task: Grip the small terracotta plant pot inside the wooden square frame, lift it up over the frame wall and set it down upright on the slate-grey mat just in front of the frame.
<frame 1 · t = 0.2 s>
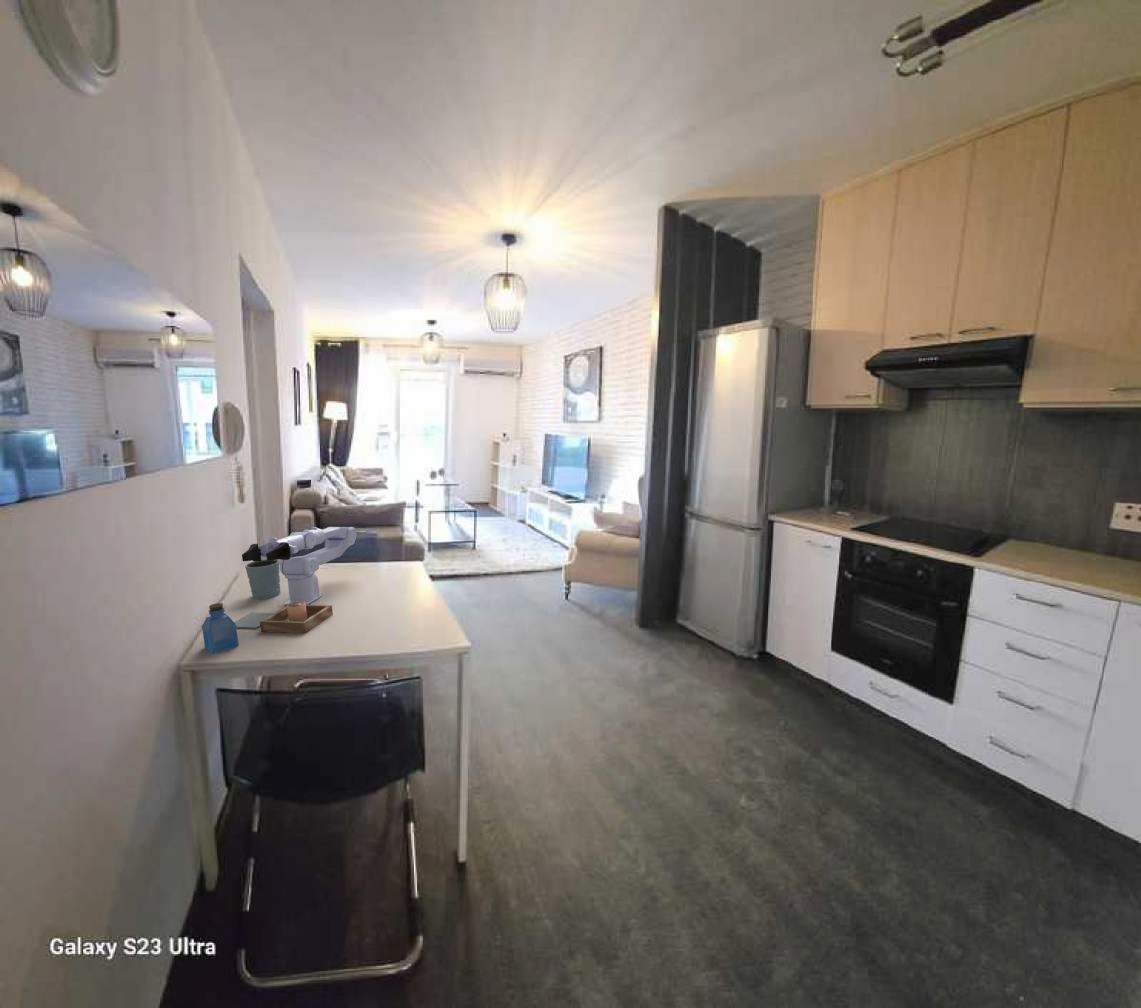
hand: (255, 557, 148), 21 cm above the table, tool horizontal, fingers open, 7 cm apart
slate mat: (254, 621, 154), on the table
wooden square frame: (298, 622, 153), on the table
terracotta pot: (297, 613, 152), in the wooden square frame
green pot: (266, 595, 177), on the table
perfume bottle: (222, 647, 137), on the table
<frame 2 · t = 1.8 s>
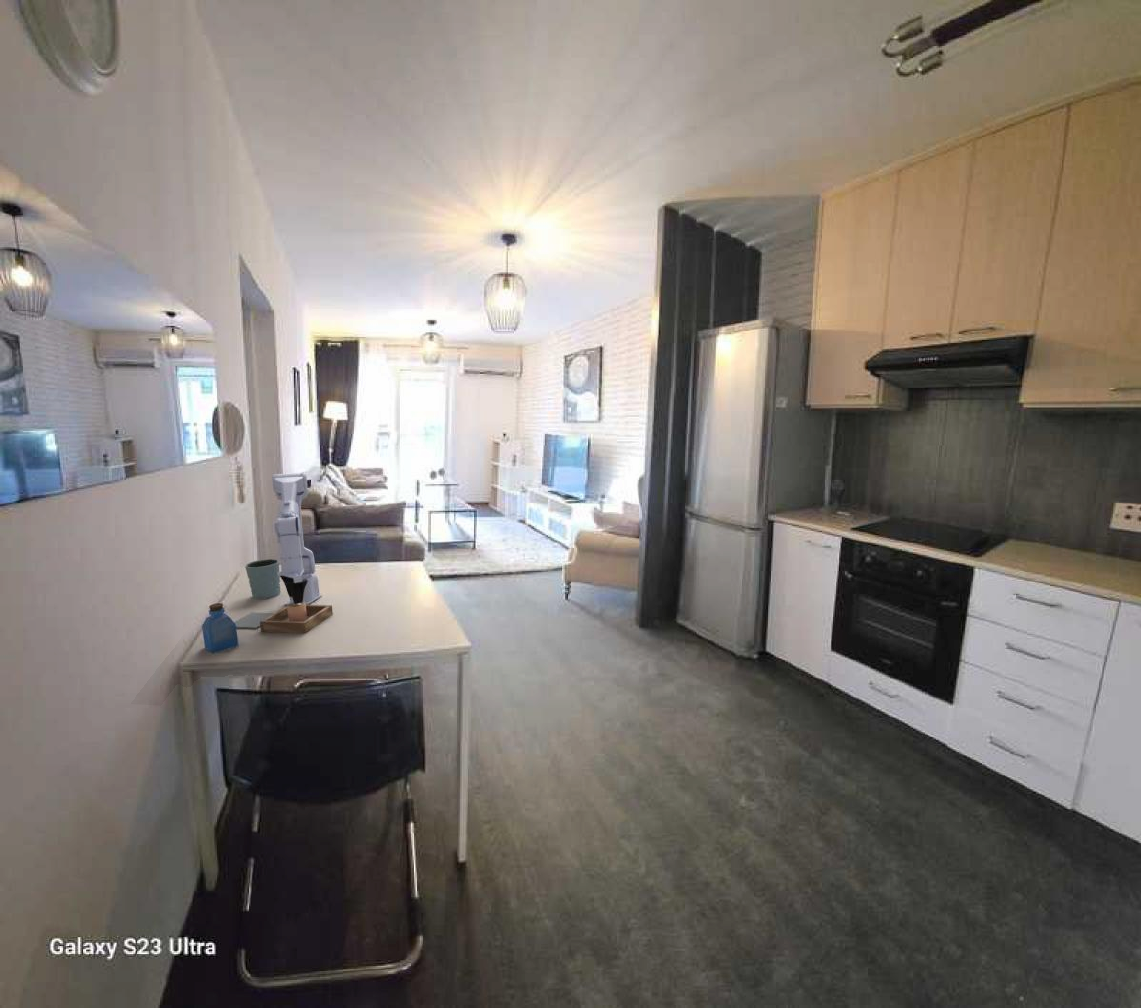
hand: (295, 599, 151), 7 cm above the table, tool pointing down, fingers open, 7 cm apart
nothing on the table moved.
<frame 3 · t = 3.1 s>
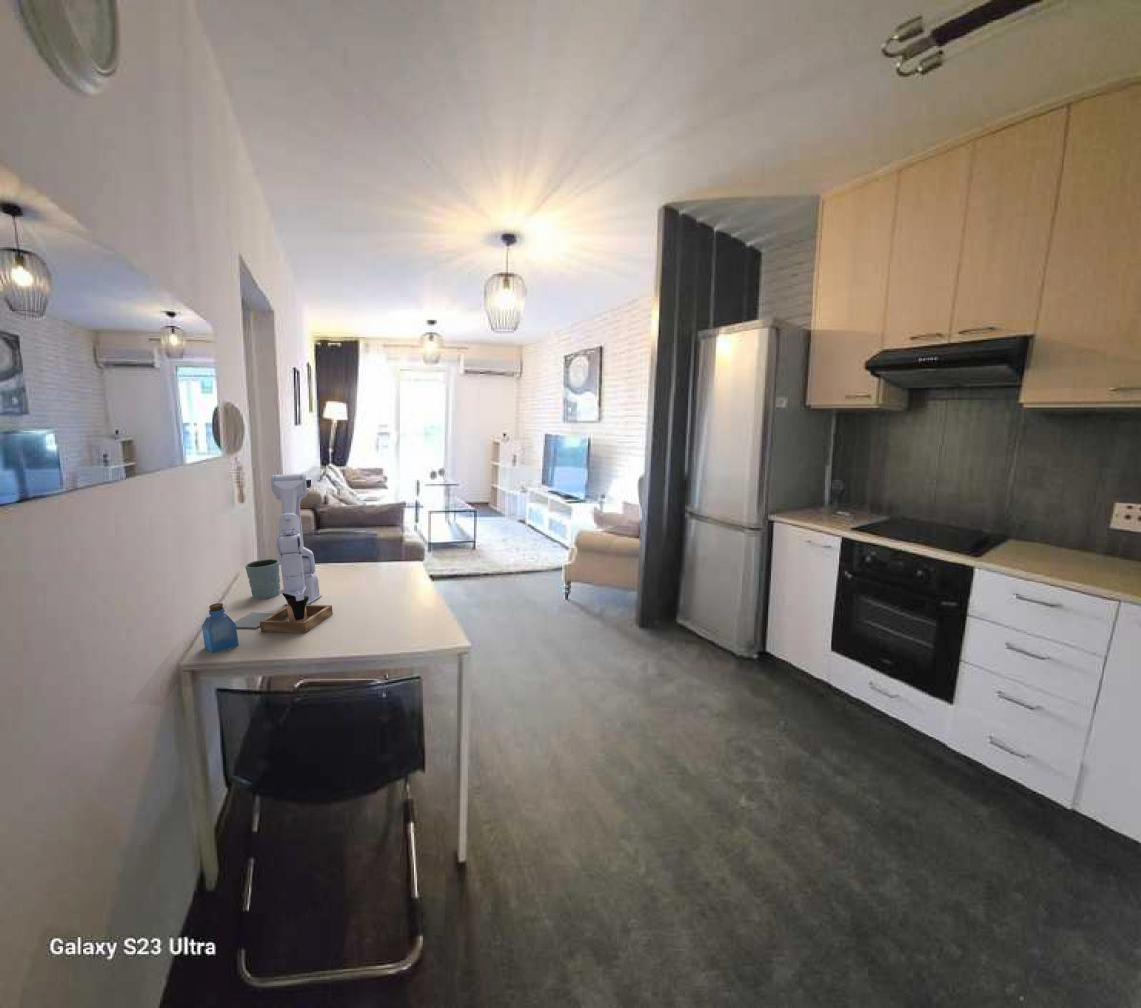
hand: (297, 616, 152), 2 cm above the table, tool pointing down, fingers closed on terracotta pot, 5 cm apart
terracotta pot: (297, 613, 152), in the wooden square frame, touching gripper
everything else where it was.
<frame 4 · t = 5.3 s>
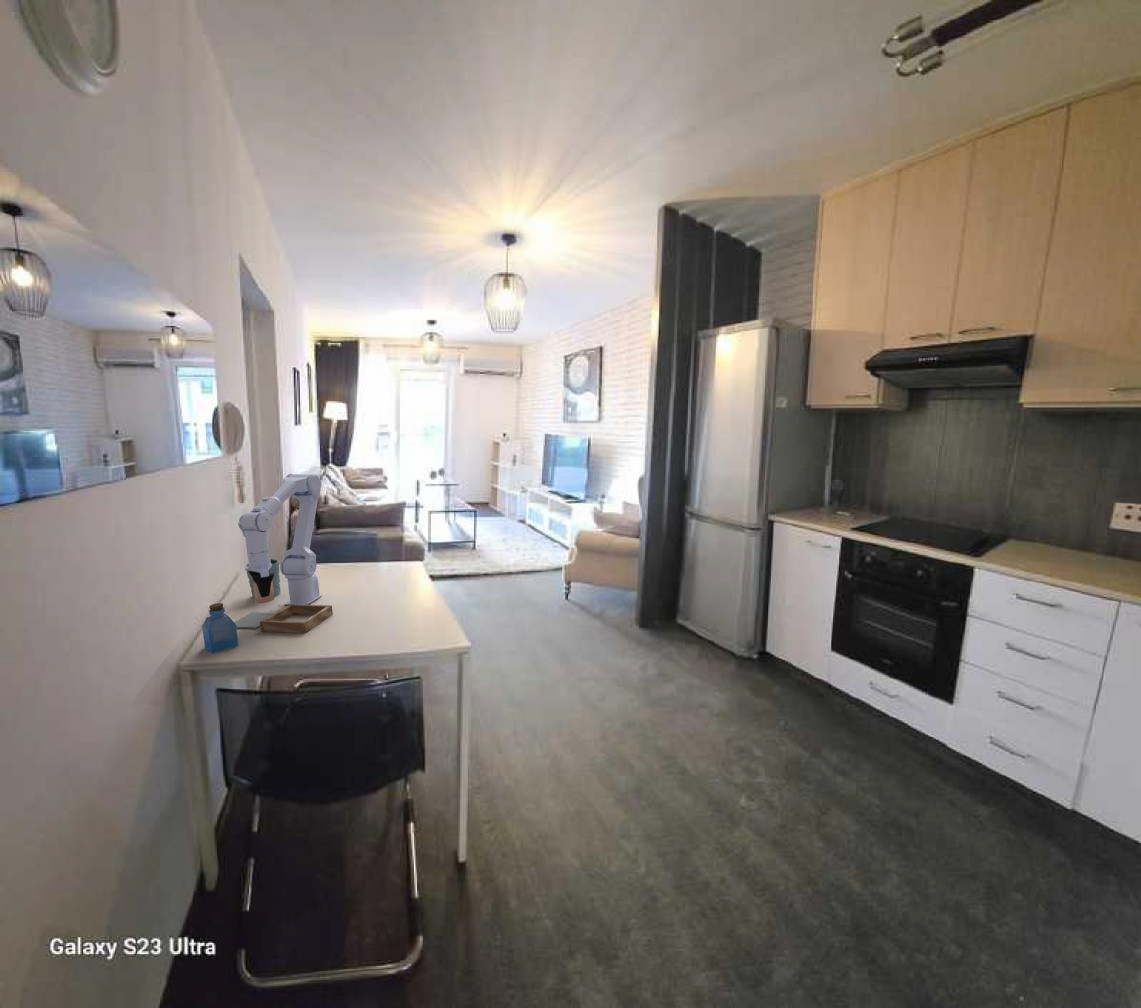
hand: (263, 594, 152), 9 cm above the table, tool pointing down, fingers closed on terracotta pot, 5 cm apart
terracotta pot: (263, 590, 152), point 10 cm above the table, touching gripper
everything else where it was.
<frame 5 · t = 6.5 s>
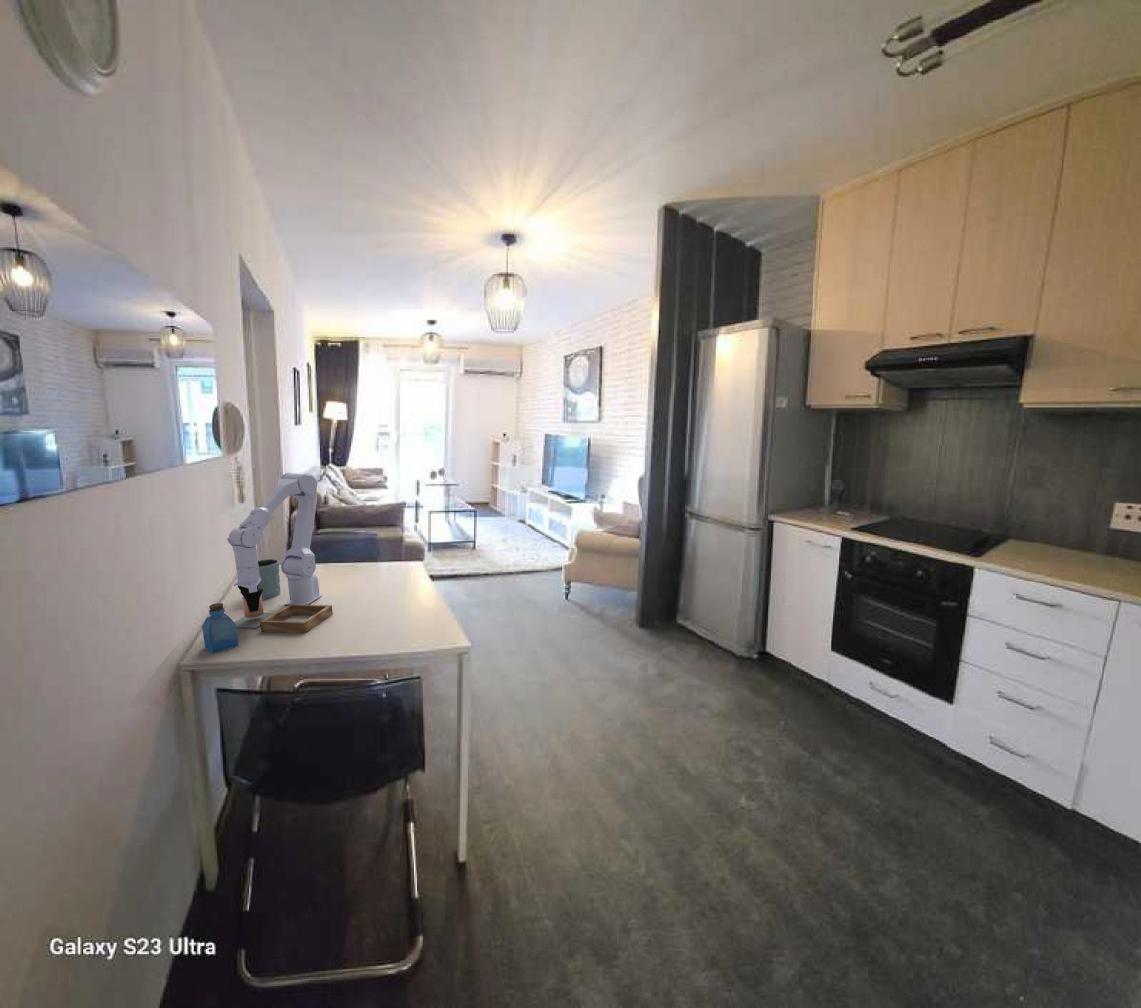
hand: (252, 608, 153), 4 cm above the table, tool pointing down, fingers closed on terracotta pot, 5 cm apart
terracotta pot: (253, 605, 153), point 5 cm above the table, touching gripper
everything else where it was.
when the fingers open (3 cm above the table, at t = 7.6 s): terracotta pot stays where it is, resting on slate mat.
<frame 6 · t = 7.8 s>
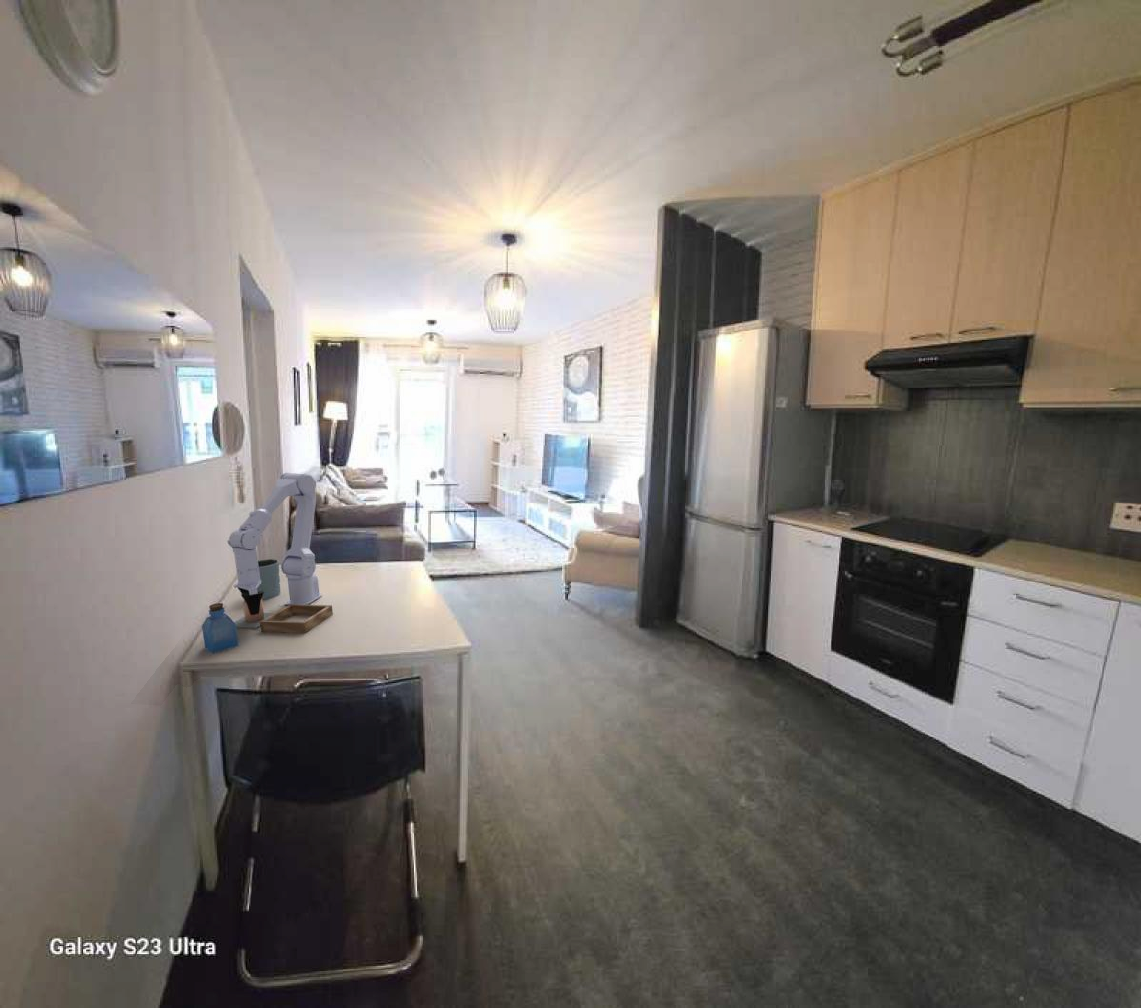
hand: (253, 610, 154), 3 cm above the table, tool pointing down, fingers open, 7 cm apart
terracotta pot: (253, 610, 154), on the slate mat
everything else where it was.
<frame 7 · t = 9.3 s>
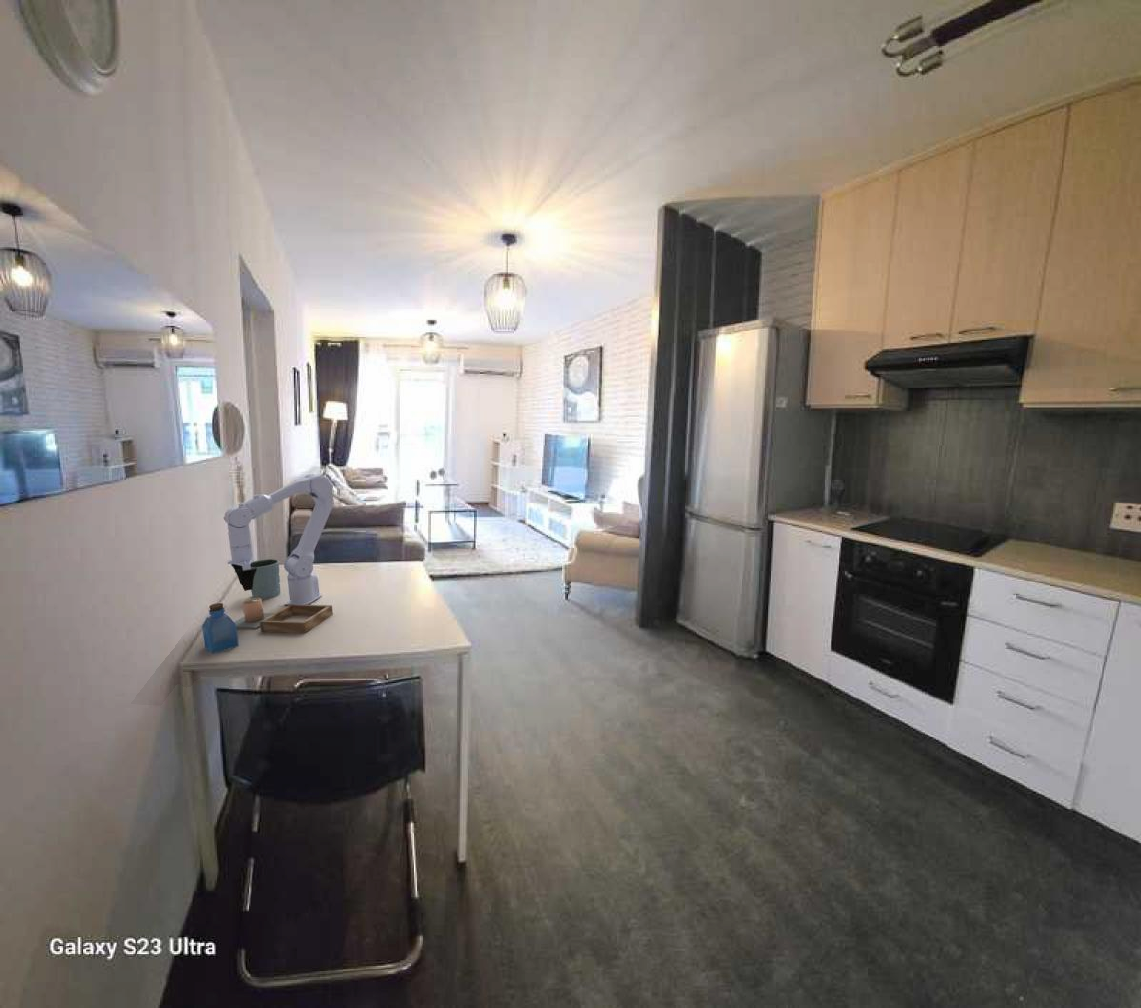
hand: (246, 586, 158), 9 cm above the table, tool pointing down, fingers open, 7 cm apart
nothing on the table moved.
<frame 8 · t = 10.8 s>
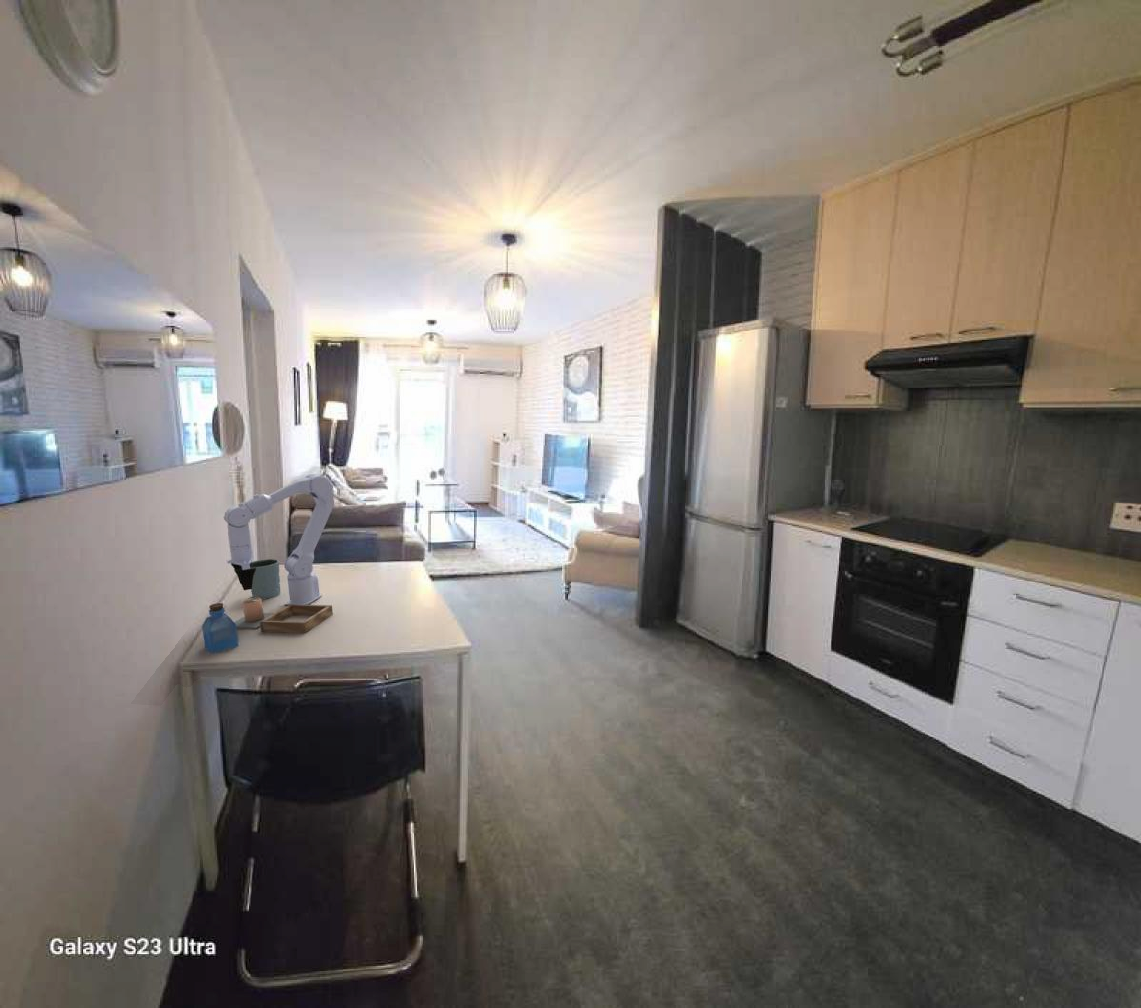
hand: (246, 586, 158), 9 cm above the table, tool pointing down, fingers open, 7 cm apart
nothing on the table moved.
at the end: terracotta pot 0.2 cm off-centre on the slate mat, point 3.6 cm above the slate mat's base; terracotta pot tilted 3°; the gripper is holding nothing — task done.
